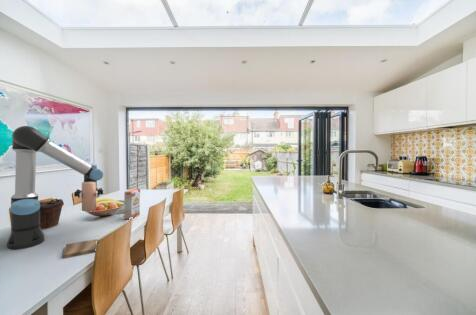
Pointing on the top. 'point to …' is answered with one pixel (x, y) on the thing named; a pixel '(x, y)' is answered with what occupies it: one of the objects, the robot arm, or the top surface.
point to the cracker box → (131, 203)
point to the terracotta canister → (88, 196)
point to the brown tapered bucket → (50, 213)
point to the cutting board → (79, 248)
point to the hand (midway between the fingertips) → (88, 195)
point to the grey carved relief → (119, 211)
